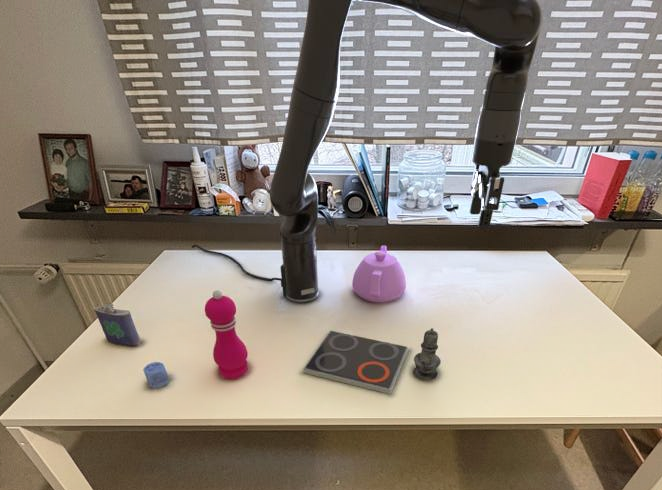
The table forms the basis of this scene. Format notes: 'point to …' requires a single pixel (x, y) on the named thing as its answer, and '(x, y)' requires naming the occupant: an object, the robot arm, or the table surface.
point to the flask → (117, 326)
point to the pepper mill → (226, 337)
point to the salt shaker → (427, 357)
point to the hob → (357, 361)
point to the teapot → (379, 277)
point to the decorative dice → (156, 374)
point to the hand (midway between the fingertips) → (478, 220)
